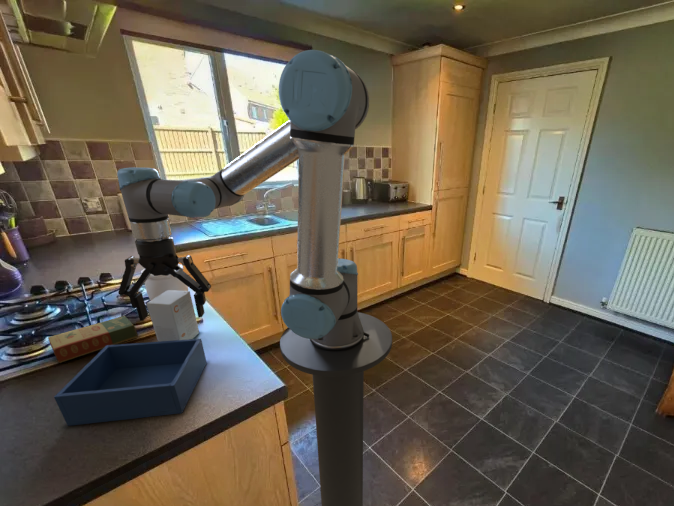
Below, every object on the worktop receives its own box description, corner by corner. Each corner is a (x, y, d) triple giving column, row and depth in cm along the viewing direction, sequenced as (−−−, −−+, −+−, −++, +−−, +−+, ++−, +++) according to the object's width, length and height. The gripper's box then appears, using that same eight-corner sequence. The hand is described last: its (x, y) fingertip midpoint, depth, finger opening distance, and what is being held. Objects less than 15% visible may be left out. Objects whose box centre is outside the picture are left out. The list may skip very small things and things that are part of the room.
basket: (206, 362, 80) (201, 338, 77) (182, 413, 65) (174, 385, 62) (115, 370, 76) (106, 345, 73) (67, 426, 61) (53, 397, 58)
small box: (178, 331, 92) (167, 289, 87) (200, 332, 92) (190, 290, 87) (158, 347, 85) (145, 302, 80) (182, 349, 84) (170, 304, 79)
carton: (53, 350, 82) (46, 336, 80) (129, 327, 94) (125, 313, 92) (59, 364, 77) (52, 349, 76) (138, 337, 89) (134, 323, 87)
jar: (145, 318, 98) (131, 271, 92) (175, 304, 107) (164, 260, 101) (172, 324, 95) (160, 277, 89) (201, 309, 104) (191, 265, 98)
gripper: (215, 233, 83) (227, 307, 91) (102, 233, 78) (126, 312, 86) (206, 241, 76) (220, 320, 85) (82, 242, 71) (110, 326, 80)
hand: (173, 316), depth 86 cm, fingers open, 13 cm apart
